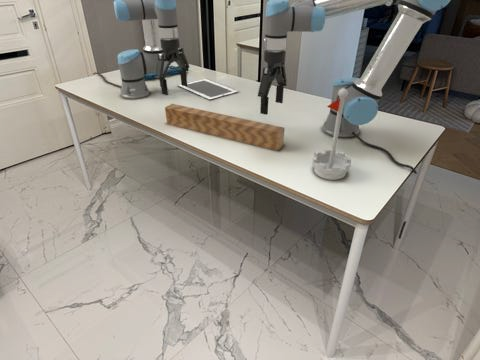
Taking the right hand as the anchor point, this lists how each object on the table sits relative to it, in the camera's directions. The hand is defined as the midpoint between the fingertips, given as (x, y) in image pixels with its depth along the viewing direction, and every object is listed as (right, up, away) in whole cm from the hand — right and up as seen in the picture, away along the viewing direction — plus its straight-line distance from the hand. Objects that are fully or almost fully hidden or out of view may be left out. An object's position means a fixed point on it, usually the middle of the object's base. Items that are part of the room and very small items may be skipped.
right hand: (271, 108), depth 130 cm
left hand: (-41, +12, +19) cm, 46 cm away
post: (-20, -8, +18) cm, 28 cm away
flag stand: (+20, -25, -9) cm, 33 cm away
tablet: (-31, +26, +68) cm, 79 cm away
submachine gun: (-64, +44, +96) cm, 124 cm away
